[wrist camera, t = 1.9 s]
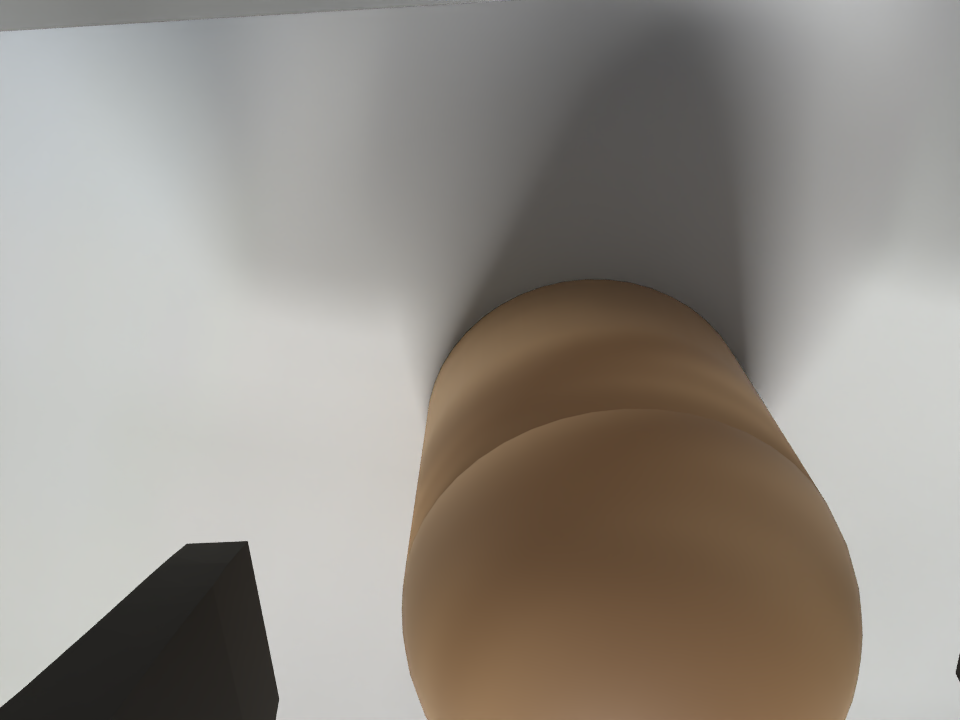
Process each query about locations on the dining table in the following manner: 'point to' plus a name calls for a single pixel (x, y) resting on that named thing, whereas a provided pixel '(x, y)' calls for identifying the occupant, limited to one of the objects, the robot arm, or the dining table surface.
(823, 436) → the dining table surface
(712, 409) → the brown egg
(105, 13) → the egg tray
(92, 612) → the dining table surface
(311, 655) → the dining table surface
